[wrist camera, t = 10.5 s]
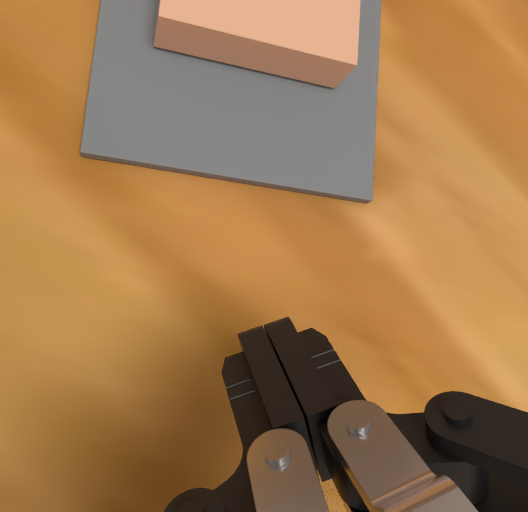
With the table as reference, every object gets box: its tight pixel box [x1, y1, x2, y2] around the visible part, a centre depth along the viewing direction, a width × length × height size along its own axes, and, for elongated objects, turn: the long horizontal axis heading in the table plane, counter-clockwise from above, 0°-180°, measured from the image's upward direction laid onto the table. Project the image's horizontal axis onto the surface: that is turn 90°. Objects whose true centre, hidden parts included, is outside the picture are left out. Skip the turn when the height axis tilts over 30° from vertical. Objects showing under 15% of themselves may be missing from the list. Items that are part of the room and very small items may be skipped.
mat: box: [80, 0, 381, 203], centre depth 25 cm, size 18×14×1 cm
